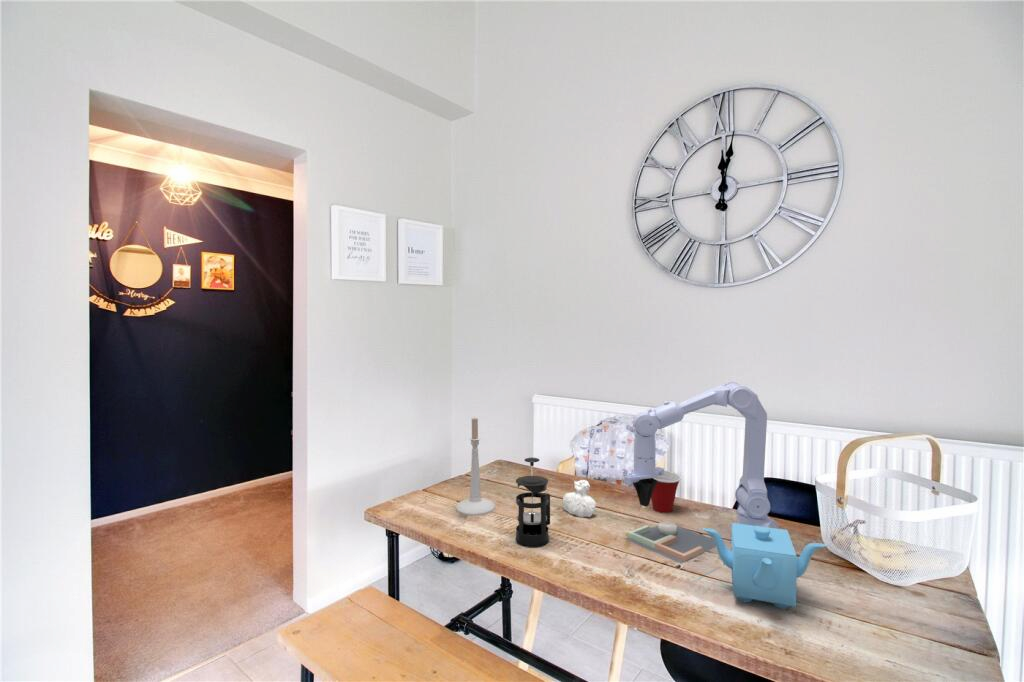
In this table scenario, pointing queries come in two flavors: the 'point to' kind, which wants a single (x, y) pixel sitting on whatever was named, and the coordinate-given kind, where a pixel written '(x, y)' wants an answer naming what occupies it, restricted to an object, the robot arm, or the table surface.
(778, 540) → the teakettle
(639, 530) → the mint green c bracket
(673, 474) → the plastic cup
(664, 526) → the white dome
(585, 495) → the white sheep figurine
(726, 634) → the table surface
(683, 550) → the mat
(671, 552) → the pink u-shaped rail
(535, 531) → the french press
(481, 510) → the candlestick
